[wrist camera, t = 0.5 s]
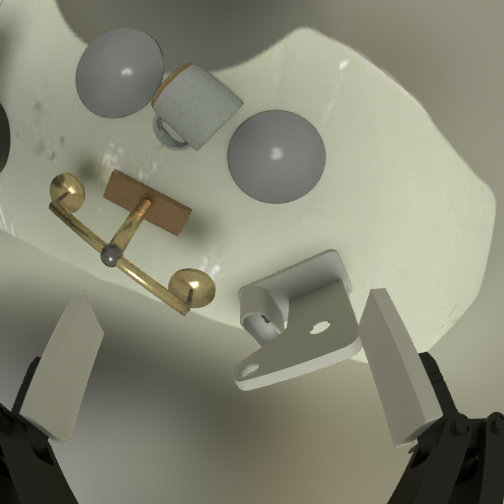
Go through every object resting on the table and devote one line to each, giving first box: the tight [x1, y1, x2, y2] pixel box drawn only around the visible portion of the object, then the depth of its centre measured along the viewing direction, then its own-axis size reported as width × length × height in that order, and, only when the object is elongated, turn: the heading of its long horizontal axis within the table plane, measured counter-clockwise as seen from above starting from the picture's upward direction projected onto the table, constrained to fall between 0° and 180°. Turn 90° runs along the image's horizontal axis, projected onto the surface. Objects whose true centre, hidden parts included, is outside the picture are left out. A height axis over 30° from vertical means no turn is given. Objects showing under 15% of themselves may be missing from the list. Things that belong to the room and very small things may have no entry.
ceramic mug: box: [152, 64, 244, 151], centre depth 28 cm, size 10×8×7 cm
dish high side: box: [228, 110, 326, 204], centre depth 35 cm, size 12×12×1 cm
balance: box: [49, 170, 216, 316], centre depth 31 cm, size 23×5×16 cm, turn 57°
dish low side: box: [76, 28, 164, 118], centre depth 27 cm, size 12×12×1 cm
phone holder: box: [232, 249, 363, 391], centre depth 39 cm, size 17×10×18 cm, turn 119°
